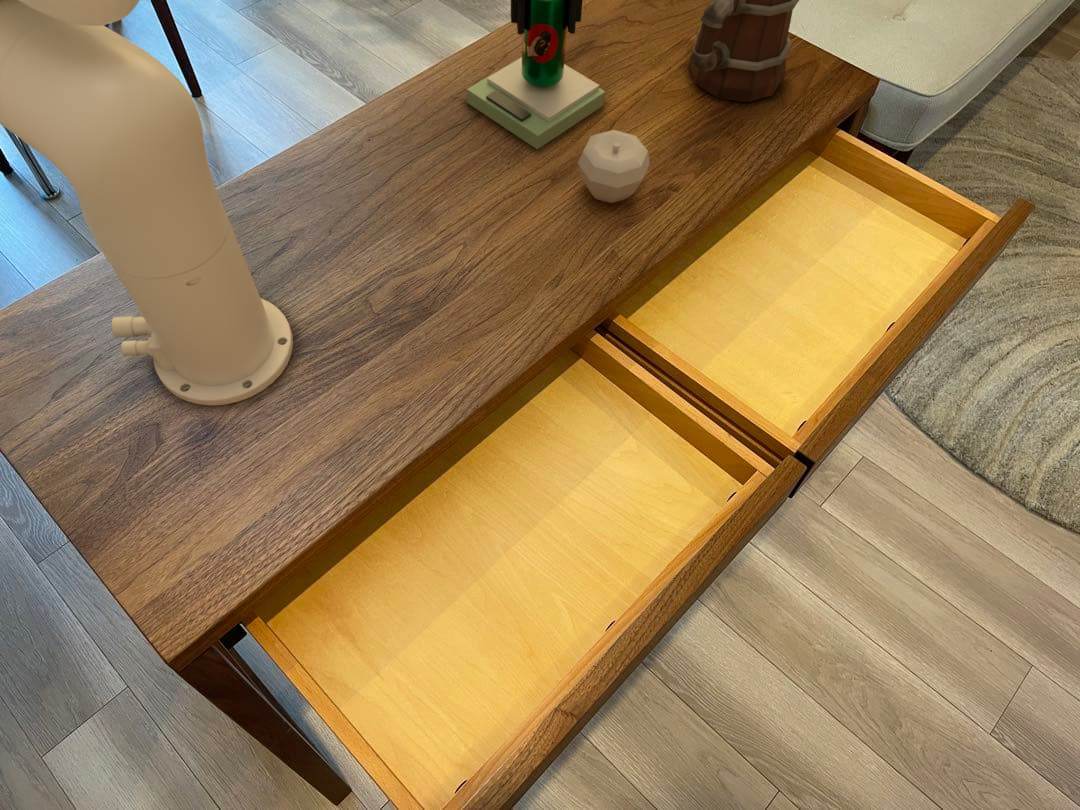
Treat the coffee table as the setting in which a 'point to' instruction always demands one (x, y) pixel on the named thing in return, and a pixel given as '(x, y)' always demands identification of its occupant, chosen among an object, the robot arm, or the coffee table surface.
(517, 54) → the coffee table surface
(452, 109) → the coffee table surface
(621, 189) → the white apple
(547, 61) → the soda can
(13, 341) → the coffee table surface
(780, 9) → the mug
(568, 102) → the scale
